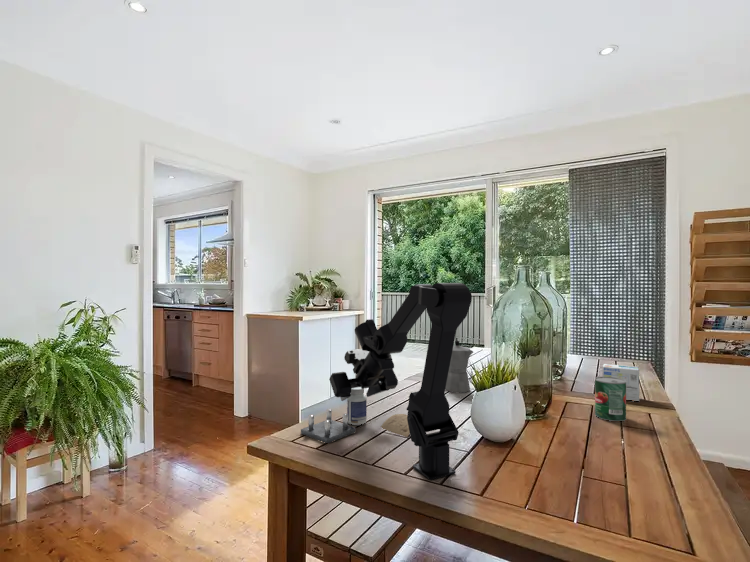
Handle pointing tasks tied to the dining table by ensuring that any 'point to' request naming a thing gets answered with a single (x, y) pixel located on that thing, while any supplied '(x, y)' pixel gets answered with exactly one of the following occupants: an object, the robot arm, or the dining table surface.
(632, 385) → the light bulb box
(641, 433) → the dining table surface
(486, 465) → the dining table surface
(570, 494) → the dining table surface
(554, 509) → the dining table surface
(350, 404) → the pill bottle
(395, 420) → the clay tablet
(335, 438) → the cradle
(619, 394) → the canned tomato
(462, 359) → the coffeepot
